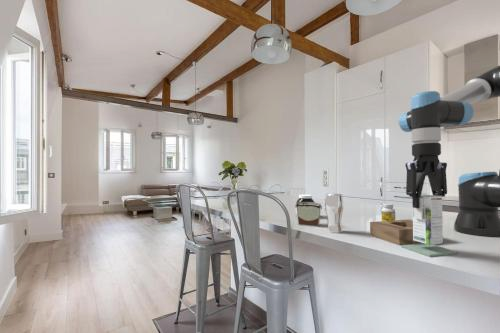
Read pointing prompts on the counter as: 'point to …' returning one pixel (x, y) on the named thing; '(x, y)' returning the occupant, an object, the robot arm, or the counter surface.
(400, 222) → the walnut block
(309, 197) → the spread jar
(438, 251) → the sage rubber mat
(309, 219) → the food container
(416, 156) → the robot arm
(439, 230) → the syrup box
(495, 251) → the counter surface
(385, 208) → the supplement bottle
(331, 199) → the beer glass
